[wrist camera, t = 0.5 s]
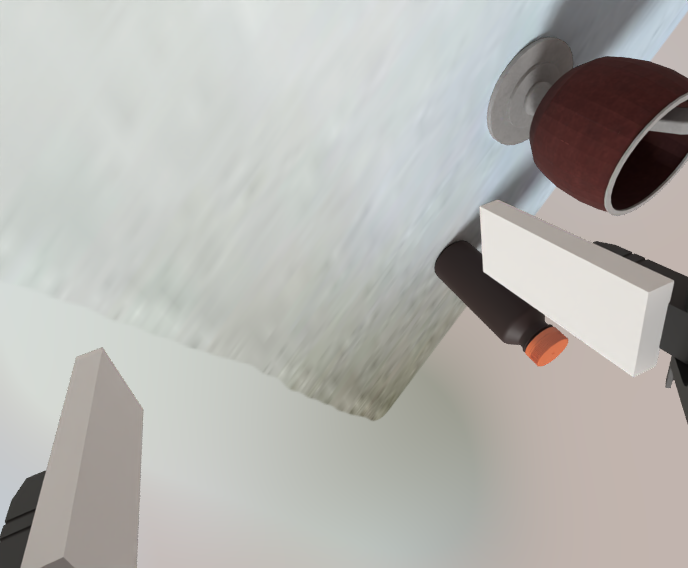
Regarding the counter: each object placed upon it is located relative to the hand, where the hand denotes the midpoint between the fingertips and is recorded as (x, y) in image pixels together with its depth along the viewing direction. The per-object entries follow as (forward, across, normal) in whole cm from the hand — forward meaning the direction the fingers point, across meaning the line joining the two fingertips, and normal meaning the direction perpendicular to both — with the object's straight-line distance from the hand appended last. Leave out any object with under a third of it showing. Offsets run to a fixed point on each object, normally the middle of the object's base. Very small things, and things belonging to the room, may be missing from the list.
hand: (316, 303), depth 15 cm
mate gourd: (+35, +37, -5) cm, 51 cm away
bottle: (+40, +27, -28) cm, 56 cm away
